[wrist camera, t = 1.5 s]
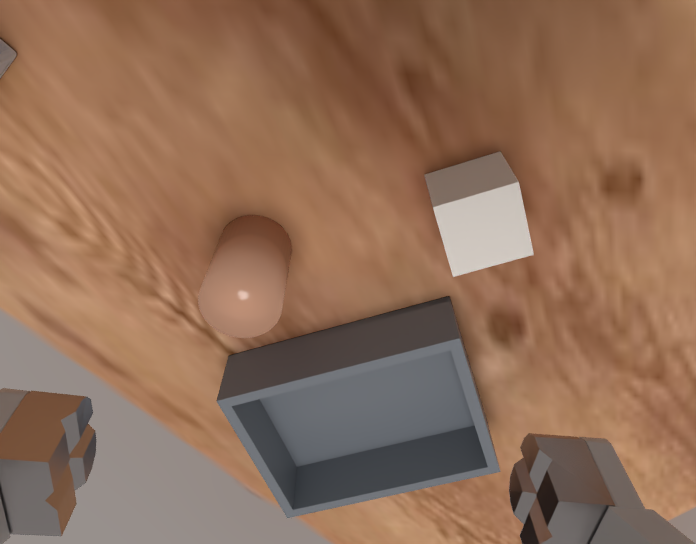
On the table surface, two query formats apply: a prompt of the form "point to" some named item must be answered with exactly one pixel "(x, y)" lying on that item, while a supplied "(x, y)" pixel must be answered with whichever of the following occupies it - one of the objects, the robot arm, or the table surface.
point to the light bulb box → (5, 57)
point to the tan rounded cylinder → (246, 278)
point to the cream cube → (479, 213)
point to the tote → (360, 410)
